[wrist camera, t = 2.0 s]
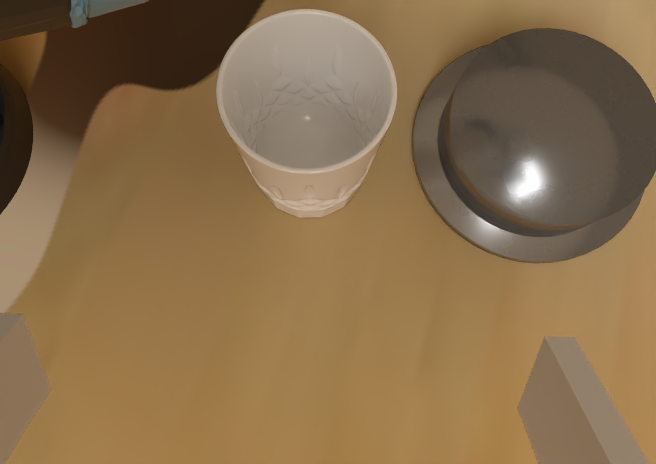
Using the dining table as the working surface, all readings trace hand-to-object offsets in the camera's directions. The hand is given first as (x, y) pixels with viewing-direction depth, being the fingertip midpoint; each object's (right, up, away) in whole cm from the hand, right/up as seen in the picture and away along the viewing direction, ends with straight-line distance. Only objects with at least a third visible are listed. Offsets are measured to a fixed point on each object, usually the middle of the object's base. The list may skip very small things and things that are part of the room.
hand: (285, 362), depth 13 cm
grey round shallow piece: (+14, +9, +19) cm, 25 cm away
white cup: (0, +7, +18) cm, 20 cm away
